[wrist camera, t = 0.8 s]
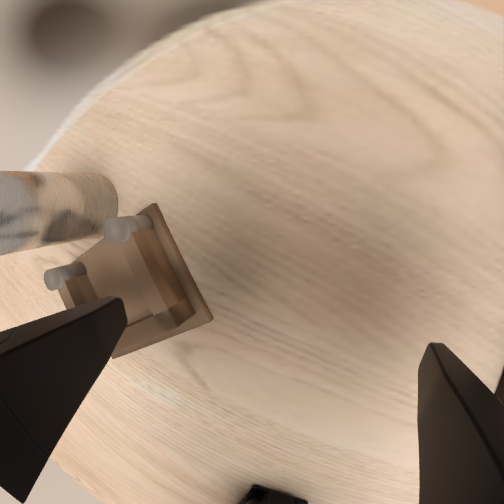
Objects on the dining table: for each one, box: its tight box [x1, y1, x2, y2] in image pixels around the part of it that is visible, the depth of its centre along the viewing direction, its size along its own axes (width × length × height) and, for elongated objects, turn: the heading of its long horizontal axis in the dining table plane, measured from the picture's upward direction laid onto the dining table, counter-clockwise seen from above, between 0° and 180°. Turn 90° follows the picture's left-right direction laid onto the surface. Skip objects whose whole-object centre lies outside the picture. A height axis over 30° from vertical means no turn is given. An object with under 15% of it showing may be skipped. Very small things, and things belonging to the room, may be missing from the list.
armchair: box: [44, 203, 213, 359], centre depth 23 cm, size 10×12×5 cm
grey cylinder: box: [0, 171, 118, 255], centre depth 19 cm, size 6×6×14 cm
